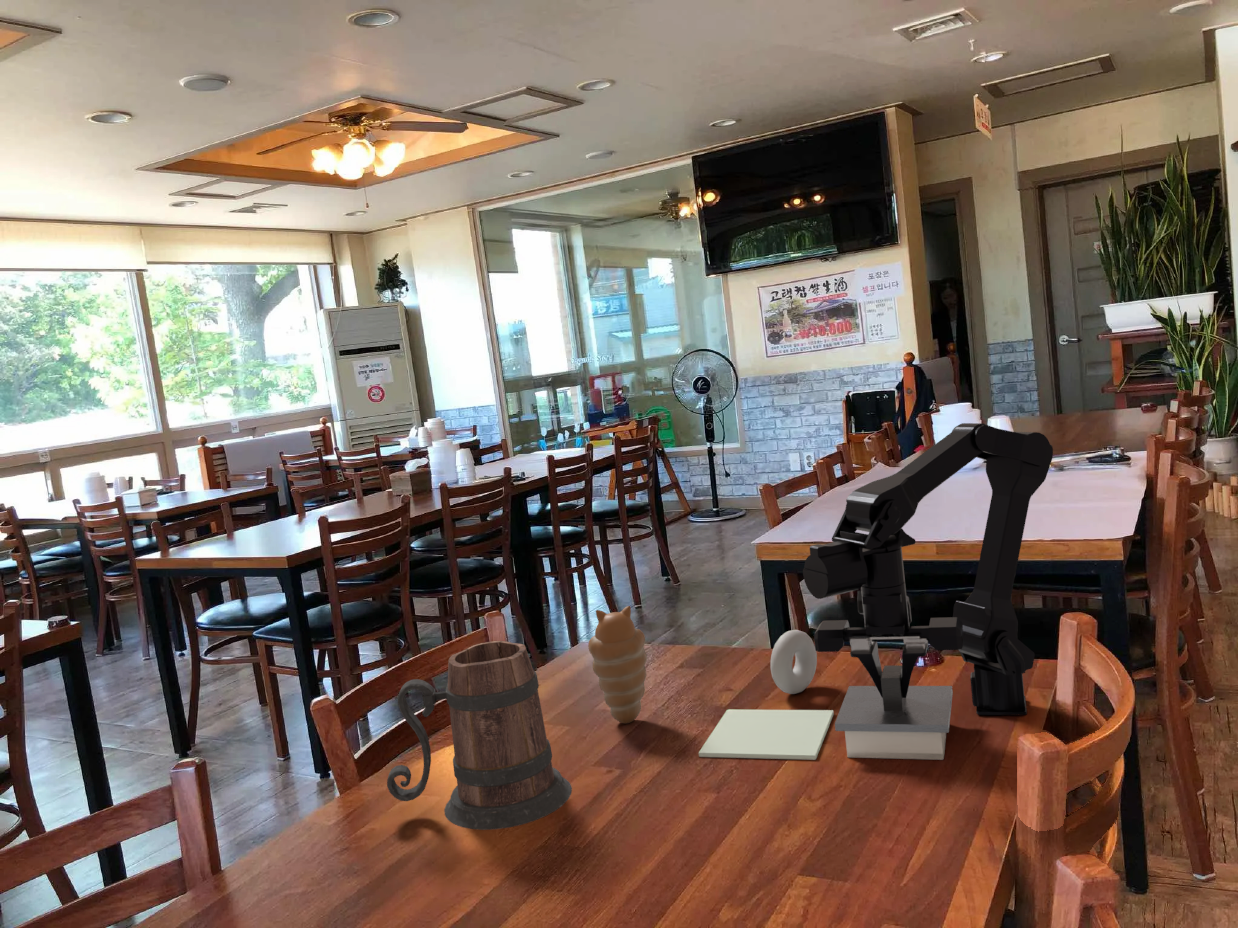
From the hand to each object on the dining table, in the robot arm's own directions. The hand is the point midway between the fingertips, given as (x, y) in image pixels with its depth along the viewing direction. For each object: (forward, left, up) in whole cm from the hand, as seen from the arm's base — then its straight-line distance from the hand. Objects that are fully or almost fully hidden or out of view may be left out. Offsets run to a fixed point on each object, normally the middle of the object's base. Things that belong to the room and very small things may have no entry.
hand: (894, 696), depth 132 cm
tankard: (+51, +23, -6) cm, 56 cm away
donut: (+17, -18, -6) cm, 26 cm away
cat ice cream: (+41, -5, -6) cm, 42 cm away
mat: (+18, -1, -6) cm, 19 cm away
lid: (0, 0, -2) cm, 2 cm away
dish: (0, 0, -6) cm, 6 cm away
